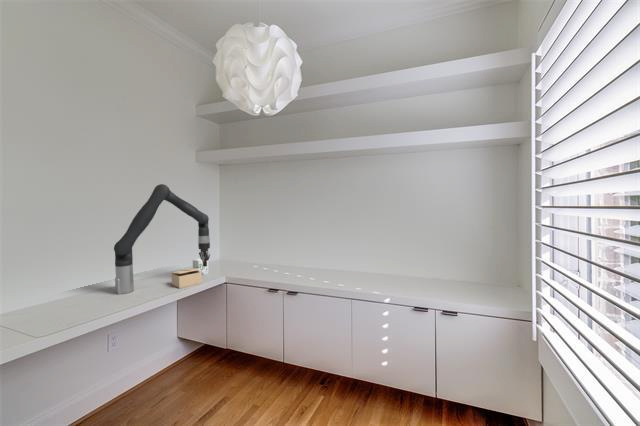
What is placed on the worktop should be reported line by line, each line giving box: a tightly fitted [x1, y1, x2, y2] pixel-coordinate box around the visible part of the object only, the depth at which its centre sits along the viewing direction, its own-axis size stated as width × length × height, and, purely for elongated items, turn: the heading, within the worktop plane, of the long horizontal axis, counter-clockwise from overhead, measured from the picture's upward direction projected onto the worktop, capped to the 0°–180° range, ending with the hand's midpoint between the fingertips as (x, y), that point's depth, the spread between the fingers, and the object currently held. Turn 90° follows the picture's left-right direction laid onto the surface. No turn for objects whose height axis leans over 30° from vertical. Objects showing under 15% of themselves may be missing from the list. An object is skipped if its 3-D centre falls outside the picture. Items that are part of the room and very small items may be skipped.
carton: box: [171, 270, 203, 290], centre depth 201 cm, size 15×13×8 cm
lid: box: [171, 267, 201, 274], centre depth 201 cm, size 15×13×1 cm
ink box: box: [192, 257, 209, 276], centre depth 229 cm, size 8×8×12 cm
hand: (204, 266), depth 208 cm, fingers closed
